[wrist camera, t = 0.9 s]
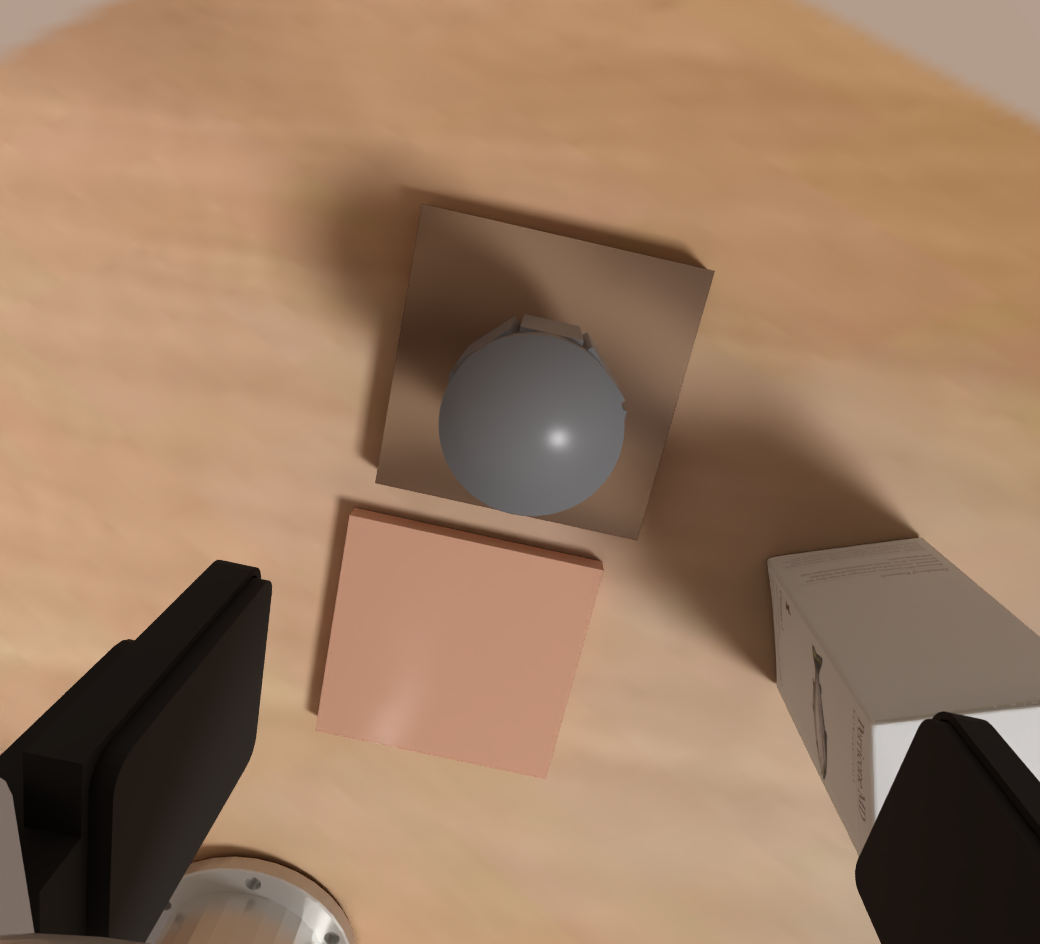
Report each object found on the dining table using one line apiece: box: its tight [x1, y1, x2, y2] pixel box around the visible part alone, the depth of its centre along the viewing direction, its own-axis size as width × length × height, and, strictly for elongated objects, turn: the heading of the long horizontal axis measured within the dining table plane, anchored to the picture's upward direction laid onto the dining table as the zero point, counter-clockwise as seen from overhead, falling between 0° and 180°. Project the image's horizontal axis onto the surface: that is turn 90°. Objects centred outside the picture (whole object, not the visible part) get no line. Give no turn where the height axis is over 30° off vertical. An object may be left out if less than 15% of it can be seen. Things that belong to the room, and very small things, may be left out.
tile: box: [315, 508, 604, 779], centre depth 37 cm, size 12×12×1 cm
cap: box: [438, 314, 627, 516], centre depth 27 cm, size 6×6×5 cm
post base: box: [375, 204, 715, 540], centre depth 29 cm, size 12×12×8 cm
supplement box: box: [767, 538, 1040, 856], centre depth 30 cm, size 7×7×13 cm
